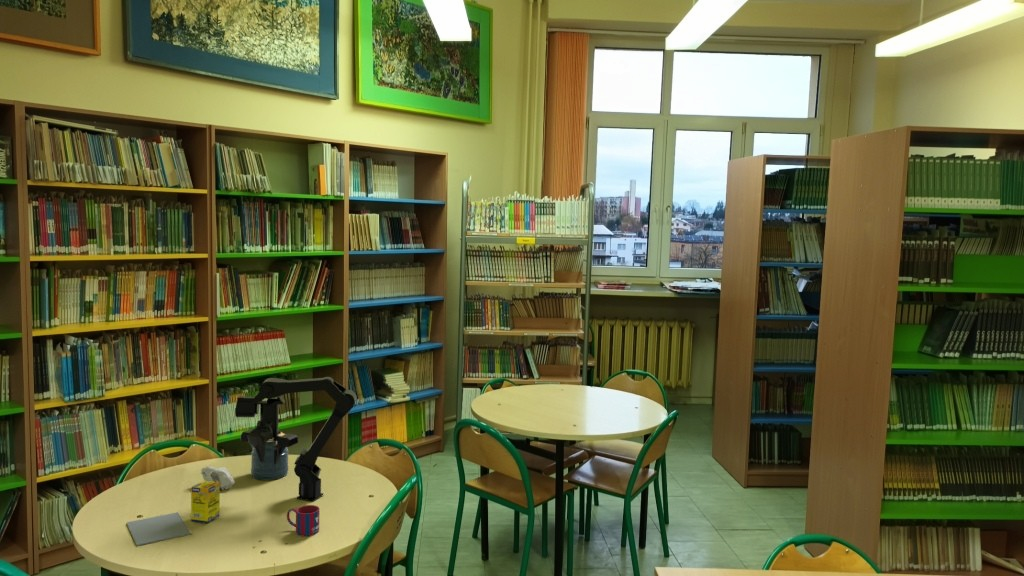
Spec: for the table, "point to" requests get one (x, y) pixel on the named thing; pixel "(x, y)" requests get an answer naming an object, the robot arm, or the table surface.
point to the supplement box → (205, 501)
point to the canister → (269, 463)
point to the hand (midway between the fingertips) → (268, 463)
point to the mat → (158, 528)
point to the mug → (306, 520)
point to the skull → (218, 476)
